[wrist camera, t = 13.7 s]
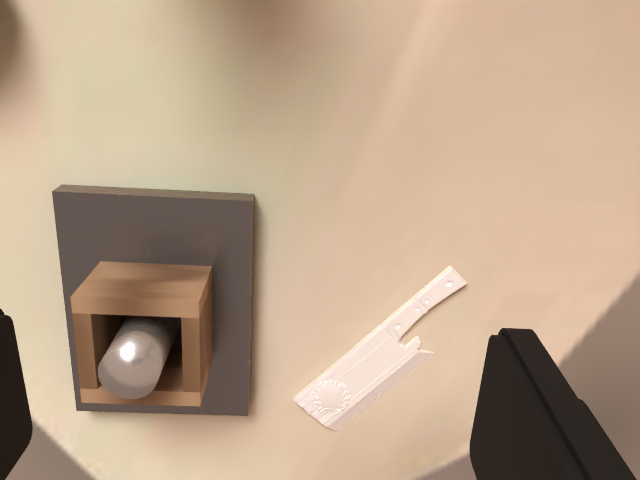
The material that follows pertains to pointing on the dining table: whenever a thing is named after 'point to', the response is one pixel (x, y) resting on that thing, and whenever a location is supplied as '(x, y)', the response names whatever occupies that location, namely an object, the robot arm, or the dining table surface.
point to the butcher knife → (375, 360)
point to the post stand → (163, 248)
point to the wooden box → (146, 300)
